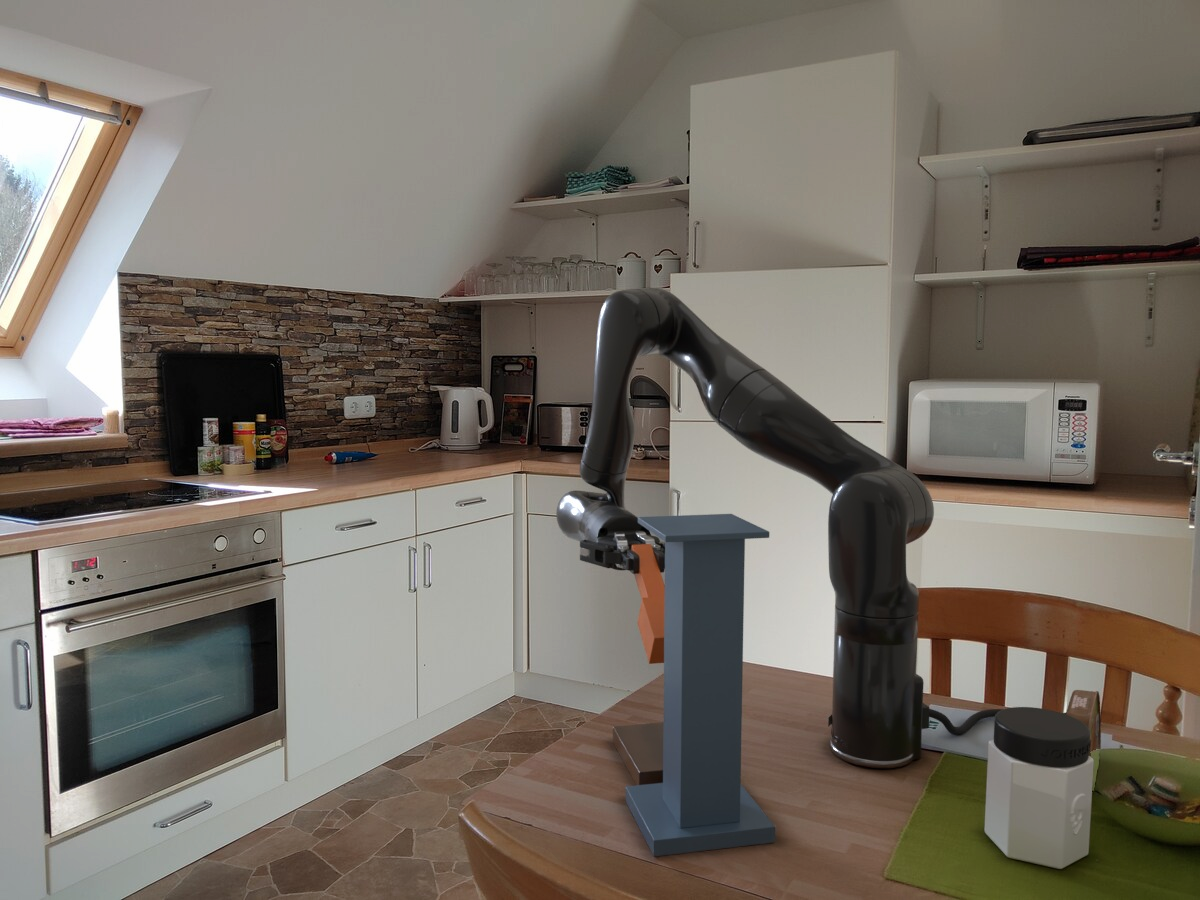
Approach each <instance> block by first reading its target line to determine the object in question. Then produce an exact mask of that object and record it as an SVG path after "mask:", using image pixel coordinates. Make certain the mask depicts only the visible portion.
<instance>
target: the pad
mask: <svg viewBox="0 0 1200 900" xmlns="http://www.w3.org/2000/svg"><path fill="white" fill-rule="evenodd" d="M663 722H664V721H663ZM663 722H653V723H652V722H651V723H640V724H628V725H617V726H612V744H613V745H614V747H615V749H616V751H617V753H618V754H619V756H620V758H621V760H622V761H623V764H624V765H625V767H626V769H627V770H628V772H629V775H630V776H631V778H632V780H633V781H634V783H635V786H636V785H646V784H656V783H663Z"/></svg>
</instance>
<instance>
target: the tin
mask: <svg viewBox="0 0 1200 900" xmlns="http://www.w3.org/2000/svg"><path fill="white" fill-rule="evenodd" d="M1065 713H1066V715H1069V716H1072V717H1074V718H1076V719H1078V720H1080V721H1081V722H1083V723H1084V724H1085V725H1086V726H1087V727H1088V728H1089V730H1090V740H1091V745H1090V751H1089V756H1091V753H1090V752H1091V751H1093V750H1096V749H1101V748H1102V737H1101V736H1102V725H1101V724H1102V718H1101V717H1102V716H1101V697H1100V692H1099V691H1098V690H1095V691H1092V690H1091V691H1090V690H1083V689H1075V690H1073V691H1072V693H1071V696H1070V699H1069V701H1068V705H1067V709H1066V712H1065Z"/></svg>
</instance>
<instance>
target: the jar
mask: <svg viewBox="0 0 1200 900" xmlns="http://www.w3.org/2000/svg"><path fill="white" fill-rule="evenodd" d="M1002 709H1003V710H1001V711H999V712H998V713H997V714H996V715H995V717H994V721H993V722H994V723H993V739H990V740H989V741H987V743H988V746H987V748H988V749H987V765H986V785H985V786H986V788H985V805H984V806H985V808H984V809H985V810H984V828H983V829H984V834H985V835H986V836H987V837H988V838H989V840H991V841H992V842H993V843H994V845H996V847H997V848H998V849H999V850H1000V851H1001V852H1002V853H1003V854H1004V855H1005V856H1006V858H1008V859H1013V860H1016V861H1022V862H1025V863H1030V864H1036V865H1039V866H1044V867H1049V868H1053V869H1057V870H1063V869H1065V868H1066V867H1068V866H1070V865H1072V864H1074V863H1076V862H1077V861H1079V860H1081V859H1083V858H1085V857H1087V856H1088V855H1089V854H1090V853H1089V852H1090V836H1091V822H1092V821H1091V818H1092V805H1093V804H1092V803H1093V802H1092V801H1093V792H1092V787H1093V770H1094V759H1093V758H1092V757H1090V756H1089V751H1090V745H1091V740H1090V730H1089V728H1088V727H1087V726H1086V725H1085V724H1084V723H1083V722H1081V721H1080V720H1078V719H1076V718H1074V717H1072V716H1069V715H1066V714H1063V713H1064V712H1059V711H1056V710H1052V709H1048V708H1041V707H1031V706H1013V707H1008V708H1007V707H1006V708H1002Z"/></svg>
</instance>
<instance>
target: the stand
mask: <svg viewBox="0 0 1200 900" xmlns="http://www.w3.org/2000/svg"><path fill="white" fill-rule="evenodd" d="M637 517H638V523H639V524H640V525H642V526H643V527H645V528H646V529H648V530H649V531H650V533H652V534H653V535H654V536H656V537H658V538H659V540H662V542H665V569H664V585H665V609H664V663H663V783H656V784H646V785H636V784H635V785H626V786H625V803H626V805H627V807H628V809H629V810H630V812H631V814H632V816H633V818H634V820H635V822H636V824H637V826H638V828H639V830H640V832H641V835H642V837H643V838H644V840H645V842H646V844H647V846H648V848H649V850H650V852H651V854H652V856H653V857H662V856H671V855H680V854H687V853H696V852H697V853H698V852H705V851H713V850H721V849H730V848H739V847H748V846H755V845H757V846H758V845H764V844H773V843H776V825H775V824H774V823H773V821H771V819H770V818H769V816H768V815H767V814H766V813H765V812H764V811H763V809H762V808H761V806H759V804H758V803H757V802H756V800H755V799H754V798H753V796H751V794H750V793H749V791H748V790H747V789H746V788H745V787H744V786H743V784H742V783H741V782H742V781H741V780H742V779H741V778H742V777H741V776H742V770H741V769H742V730H743V729H742V727H743V726H742V722H743V672H744V671H743V669H744V667H743V666H744V617H745V616H744V611H745V607H744V606H745V563H746V562H745V561H746V559H745V553H746V540H751V539H752V540H753V539H769V538H770V531H769V530H767V529H765V528H762V527H760V526H759V525H756V524H754V523H752V522H750V521H748V520H745V519H743V518H742V517H739V516H737V515H735V514H733V513H715V514H714V513H713V514H712V513H710V514H689V515H687V514H686V515H685V514H684V515H683V514H682V515H659V516H655V515H654V516H637Z"/></svg>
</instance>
